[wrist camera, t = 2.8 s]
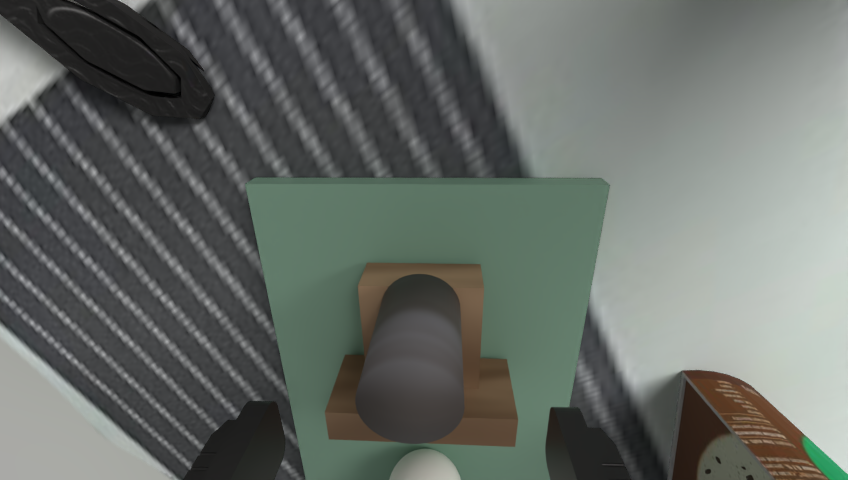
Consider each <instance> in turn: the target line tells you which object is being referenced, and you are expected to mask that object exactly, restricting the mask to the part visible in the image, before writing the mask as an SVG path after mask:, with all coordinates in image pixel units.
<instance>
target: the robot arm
mask: <svg viewBox="0 0 848 480" xmlns="http://www.w3.org/2000/svg"><path fill="white" fill-rule="evenodd" d="M284 451H285V436H284V431H283V427H282V423H281V418H280V414H279V409H278V405H277V403H276V402H274V401H249V402H248V403H247V404H246V405H245V406H244V408H243V409H242V411H241V413H240V415H239V416H238V418H237V420H227V421H226V422H225V423H224V424H223V425H222V426H221V427H220V428H219V429H218V430H216V431H215V432H214V433H213V434H212V435H211V437H210V438H209V440H208V441H207V443H206V444H205V446H204V448H203V449H202V451H201V454H200V456H198V457H197V459H196V460H195V462H194V463H193V465H192V468H191V470H189V471H188V473H187V474H186V476H185V478H184V479H183V480H274V479H275V477H276V474H277V472H278V469H279V467H280V465H281V462H282V459H283V456H284ZM545 454H546V463H547V468H548V472H549V476H550V480H631V478H630V476H629V474H628V471H627V469H626V467H624V463H623V460H622V458H621V456H620V454H619V451H618V449H617V447H616V445H615V444H614V442H613V441H612V440H611V439H610V438H609V437H608V436H607V435H606V434H605V433H604V432H603V430H602V429H601V428H587V425H586V423H585V420H584V418H583V415H582V413H581V411H580V409H579V408H578V407H551V408H550V413H549V420H548V428H547V436H546V444H545Z"/></svg>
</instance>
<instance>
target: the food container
mask: <svg viewBox="0 0 848 480" xmlns="http://www.w3.org/2000/svg"><path fill="white" fill-rule="evenodd" d="M667 480H848V474H847V473H845V472H844V471H843V470H842V469H841V468H840V467H839V466H838V465H837V464H836V463H835V462H834V461H832V460H831V459H830V458H829V457H828V456H827V455H826V454H825V453H824V452H823V451H822V450H820V449H819V448H818V447H817V446H816V445H815V444H814V443H813V442H812V441H811V440H810V439H809V438H807V437H806V436H805V435H804V434H803V433H802V432H801V431H800V430H799V429H798V428H797V427H795V426H794V425H793V424H792V423H791V422H790V421H789V420H788V419H787V418H786V417H785V416H784V415H782V414H781V413H780V412H779V411H778V410H777V409H776V408H775V407H774V406H773V405H772V404H770V403H769V402H768V401H767V400H766V399H765V398H764V397H763V396H762V395H761V394H760V393H759V392H757V391H756V390H755V389H754V388H753V387H752V386H751V385H749V384H747V383H745V382H744V381H742V380H740V379H738V378H735V377H732V376H730V375H727V374H722V373H718V372H712V371H702V370H687V371H682V374H681V381H680V389H679V396H678V403H677V411H676V418H675V425H674V433H673V440H672V447H671V455H670V462H669V469H668V477H667Z"/></svg>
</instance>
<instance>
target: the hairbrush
mask: <svg viewBox="0 0 848 480" xmlns="http://www.w3.org/2000/svg"><path fill="white" fill-rule="evenodd" d="M74 1H76V2H78V3H80V4H82V5H83V6H85V7H87V8H85V7H83V6H80V5H78V4H75V3H73V2H70V1H68V0H0V14H1V15H2V16H3V17H5V18H6V19H7V20H8V21H10V22H11V23H12V24H13V25H14V26H16V27H17V28H18V29H19V30H21V31H22V32H23V33H24V34H25V35H27V36H28V37H29V38H30V39H32V40H33V41H34V42H35V43H37V44H38V45H39V46H40V47H41V48H43V49H44V50H45V51H46V52H48V53H49V54H50V55H51V56H52V57H54V58H55V59H56V60H57V61H59V62H60V63H61V64H62V65H64V66H65V67H66V68H67V69H68V70H70V71H71V72H72V73H73V74H75V75H76V76H77V77H78V78H79V79H81V80H83V81H85V82H87V83H89V84H91V85H93V86H95V87H97V88H99V89H101V90H103V91H105V92H107V93H109V94H111V95H113V96H115V97H117V98H119V99H121V100H123V101H125V102H127V103H129V104H131V105H133V106H135V107H137V108H139V109H141V110H143V111H145V112H147V113H149V114H150V115H152V116H165V117H180V118H194V119H201V118H203V117H205V116H206V115H207V113H208V112H209V109H210V106H211V104H212V101H213V98H214V93H213V91H212V88H211V87H210V85H209V84H208V82H207V81H206V80H205V78H204V77H203V76H202V74H201V73H200V72H199V70H198V69H197V68H196V66H195V65H194V64H193V62H192V61H191V60H190V59H192V60H193V61H194V62H195V63H196V64H197V65H198V66H199V67H200V68H201V69H202V70H203V68H202V67H201V66H200V64H199V63H198V62H197V61H196V59H195V58H194V57H193V55H192V54H191V53H190V51H189V50H188V49H186V48H185V47H184V46H182V45H181V44H179V43H178V42H177V41H175V40H174V39H173V38H171V37H170V36H168V35H167V34H166V33H164V32H163V31H162V30H160V29H159V28H157V27H156V26H155V25H153V24H152V23H151V22H149V21H148V20H146V19H145V18H144V17H142V16H141V15H140V14H138V13H137V12H135V11H134V10H133V9H131V8H130V7H128V6H127V5H126V4H124V3H122V2H120V1H118V0H74ZM88 8H89V9H88ZM90 9H91V10H90ZM140 37H141V38H140ZM203 71H204V70H203ZM152 91H157V92H166V93H174V94H176V93H178V92H180V91H181V96H173V95H169V94H160V93H154V92H152ZM165 96H166V98H165Z"/></svg>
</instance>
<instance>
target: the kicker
mask: <svg viewBox="0 0 848 480" xmlns="http://www.w3.org/2000/svg"><path fill="white" fill-rule="evenodd" d="M358 294H359V304H360V315H361V325H362V336H363V346H364V355H345V356H344V359H343V362H342V364H341V367H340V370H339V373H338V376H337V379H336V381H335V384H334V387H333V390H332V393H331V396H330V399H329V401H328V404H327V407H326V410H325V418H326V424H327V431H328V437H329V439H330V440H355V441H379V442H399V443H405V444H423V443H428V444H453V445H478V446H502V447H515V444H516V435H517V426H518V415H517V410H516V405H515V400H514V394H513V389H512V384H511V379H510V373H509V368H508V363H507V359H487V358H480V354H481V335H482V317H483V299H484V284H483V277H482V271H481V264H431V263H367V264H366V267H365V269H364V272H363V274H362V277H361V279H360V282H359V284H358Z"/></svg>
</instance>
